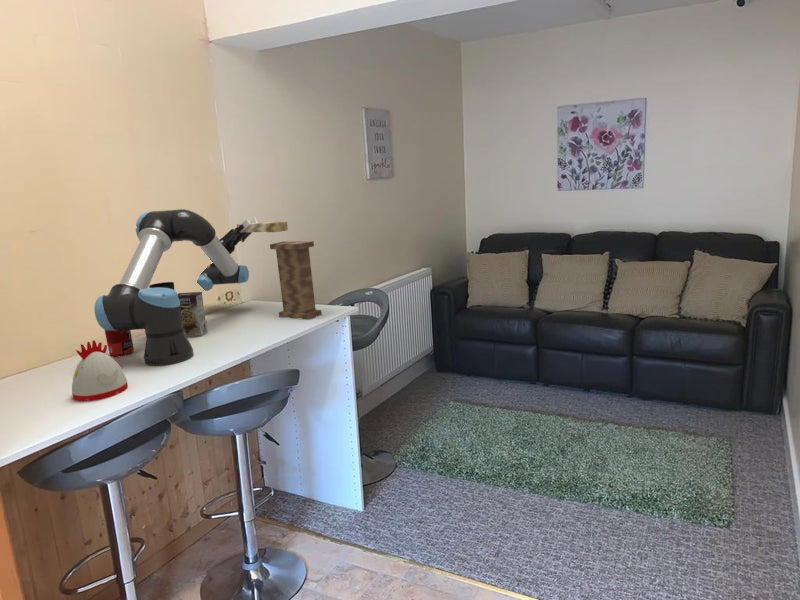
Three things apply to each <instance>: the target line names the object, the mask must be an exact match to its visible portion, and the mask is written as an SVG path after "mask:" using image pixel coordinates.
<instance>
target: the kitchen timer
mask: <svg viewBox="0 0 800 600" xmlns="http://www.w3.org/2000/svg"><path fill="white" fill-rule="evenodd" d="M91 343H92V345H91ZM107 349H108V345H107V344H104V346H103V349H102V342H98V344H97V342H96V340H93V339H92V342H90V341H87V342H86V347H85V345H84V344H82V343H81V344H80V350H81V351H80V350H78V349H75V351H76V353H77V354H78V355H79V356H80V360H79V362H78V364H77V365H76V367H75V370H74V373H73V377H72V384H71V393H72V394H71V395H72V399H74V401H77V402H94V401H99V400H103V399H104V400H105V399H108V398H111V397H114V396H117V395H119V394H122V393H123V392H125V391H126V390H127V389H128V380H127V377H126V375H125V373H124V371H123V369H122V368H121V365H119V363H118V362H117V360H115V359H114V357H112V356H110V354H107Z"/></svg>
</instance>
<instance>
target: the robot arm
mask: <svg viewBox="0 0 800 600" xmlns="http://www.w3.org/2000/svg"><path fill="white" fill-rule="evenodd" d="M241 223H242V224H241ZM241 223H240V224H241V225H240V226H238V228H237V227H235V228H231V229H230V230H229V231H228V232H226V234H225V235H224V236H222V237H221V238H220V239H219V237H218V236H217V235H216V230H215V228H214V226H213V225H212V223H210V222H209V221H208V220H207V219H205V218H204V217H203V216H201V215H200V214H199V213H196V212H194V211H191V210H189V209H182V208H181V209H179V208H178V209H171V210H170V209H169V210H151V211H146V212H144V213H142V214H141V215H140V216H138V218H137V221H136V224H135V225H136V228H135V231H136V232H135V233H136V236H137V239H138V241H139V243H138V245H137V248H136V249H135V251H134V253H133V255H132V257H131V259H130V261H129V262H128V265H127V268H126V270H125V272H124V273H123V276H122V277H121V279H120V282H119V283H116V284H115V285H113V286H112V287H111V289H110V290H109V292H108V294H107V295H105V294H104V295H100V296H98V297H97V299H96V300H95V303H94V308H93V309H94V315H95V320H96V322H97V324H98V326H99V327H100V328H102V329H103V330H104V331H105V330H107V331H122V330H130V331H133V330H136V331H138V330H144V332H145V338H146V341H145V347H144V353H143V361H144V364H145V365H146V366H152V367H153V366H155V367H156V366H166V365H167V366H168V365H172V364H176V363H177V364H178V363H180V362H184V361H187V360H189V359H191V358H192V357H194V349H193V346H192V344H191V343H190V341H189V338H188V337H186V335H185V333H184V328H183V321H182V314H181V308H180V301H179V297H178V294H179V293H178V292H177V291H176V290H175V289H174V290H173V289H170V288H160V287H157V288H149V285H151V284H150V283H151V281H152V279H153V277H154V274H155V272H156V270H157V268H158V265H159V264H160V261H161V258H162V256H163V254H164V252H167V251H169V250H170V249H171V247H172V245H173V243H174V242H185V241H188V242H192V244H194V245H195V246H196V247H200V249H201V251H203V252H204V255H205V254H206V255H207V256H208V257H209V258H210V260H211V261H212V262H213V263H212V264H210V265H209V266H207V268H206V269H205V270H204V271H203V272H202V273H201V274H200V276H199V278H198V280H197V283H198V284H199V285H200V286H201V287H202V288H203V289H204V290H205V291H207V292H208V291H210V290H212V289H213V287H214V286H216V285H217V286H218V285H229V284H243V283H244V284H245V283H247V282H248V281H249V277H250V273H249V272H250V271H249V268H248V267H247V266H246V265H242V264H240V265H239V263H237V262H236V261H235V259H234V258H233V256H232V255H231V254H232V253H234V252H235V250H236V246H237V245H238V243H240V242H241V243H245V241H246V239H247V238H248V237H250V235H251V234H253V232H243V231H244V230H245V229H246V228H247V227H248V226H250V225H251V224H250V223H259V222H258V220H257V218H256V217H253V218H252V219H251V220H249V218H246V219H245V220H243V222H241ZM240 232H241V233H240ZM204 290H203V291H204ZM205 291H204V292H205Z"/></svg>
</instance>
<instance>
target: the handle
mask: <svg viewBox="0 0 800 600" xmlns="http://www.w3.org/2000/svg"><path fill="white" fill-rule="evenodd" d="M242 223H243V222H241V223H237V224H236V228H238V226H240V225H241V224H242ZM250 224H251V225H250V226H248V227H247V228H246V229H245V230H244V231H243V232H252V233H281V232H286V231H289V227H288V222H287V221H271V222H258V223H250ZM240 233H241V232H240Z"/></svg>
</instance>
